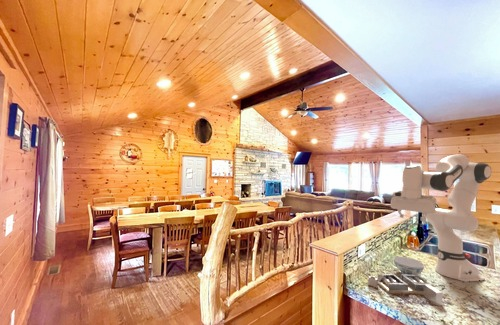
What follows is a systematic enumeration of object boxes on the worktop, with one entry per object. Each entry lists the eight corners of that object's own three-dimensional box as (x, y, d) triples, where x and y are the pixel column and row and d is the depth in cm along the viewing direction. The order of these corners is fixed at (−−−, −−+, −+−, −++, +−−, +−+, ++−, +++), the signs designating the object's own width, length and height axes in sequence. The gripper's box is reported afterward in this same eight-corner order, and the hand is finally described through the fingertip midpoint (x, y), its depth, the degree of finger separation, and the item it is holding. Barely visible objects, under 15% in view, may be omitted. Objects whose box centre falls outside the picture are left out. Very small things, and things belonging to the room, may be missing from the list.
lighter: (368, 285, 116) (368, 270, 116) (369, 283, 117) (369, 269, 117) (383, 290, 111) (383, 274, 111) (384, 289, 112) (384, 273, 112)
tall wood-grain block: (429, 296, 106) (429, 284, 106) (442, 305, 99) (442, 292, 99) (424, 296, 106) (424, 284, 106) (436, 305, 99) (436, 292, 99)
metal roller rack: (419, 283, 119) (419, 274, 119) (435, 294, 108) (435, 285, 108) (376, 281, 119) (376, 273, 119) (388, 292, 109) (388, 284, 109)
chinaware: (387, 270, 133) (387, 258, 133) (403, 267, 138) (403, 255, 138) (413, 282, 119) (413, 269, 119) (430, 278, 124) (430, 265, 124)
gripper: (437, 196, 114) (437, 222, 113) (392, 192, 129) (392, 215, 129) (435, 196, 110) (435, 223, 109) (389, 192, 125) (389, 216, 124)
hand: (411, 219), depth 119 cm, fingers open, 8 cm apart
